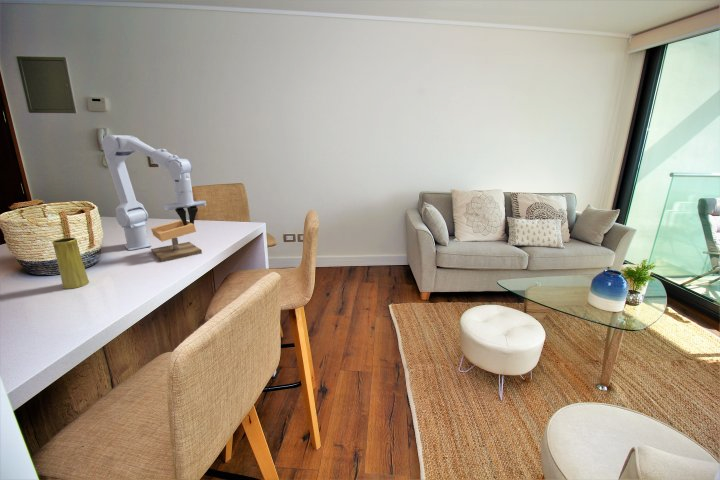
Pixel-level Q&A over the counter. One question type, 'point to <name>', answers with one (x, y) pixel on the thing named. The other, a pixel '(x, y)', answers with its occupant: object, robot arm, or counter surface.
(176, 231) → the wooden square frame
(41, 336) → the counter surface
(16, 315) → the counter surface
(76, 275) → the vase
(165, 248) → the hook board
